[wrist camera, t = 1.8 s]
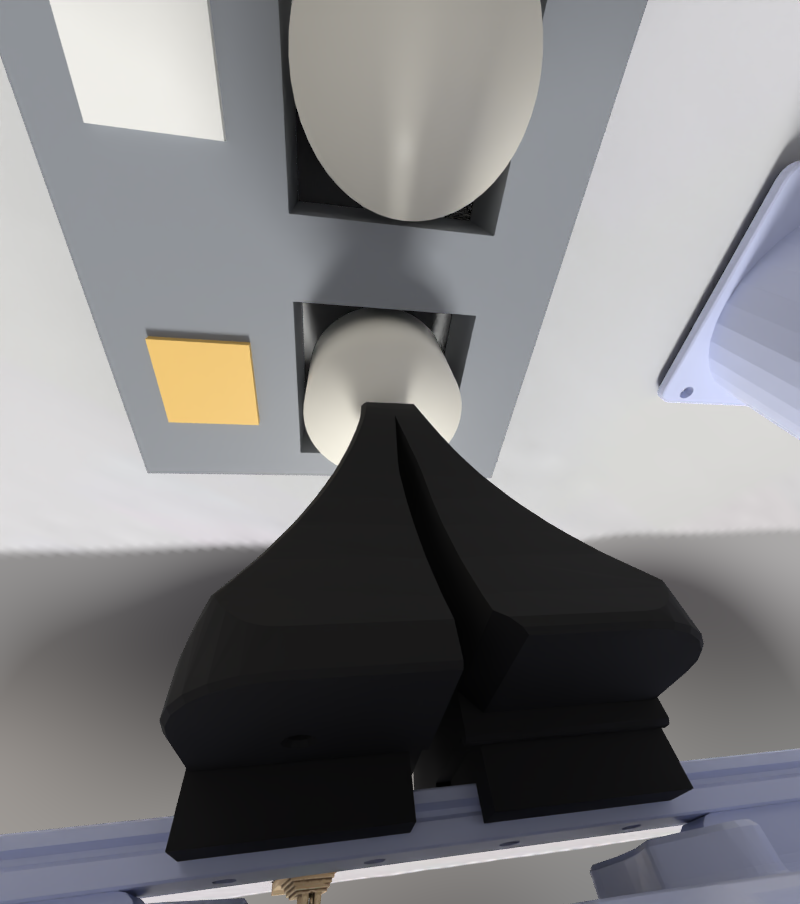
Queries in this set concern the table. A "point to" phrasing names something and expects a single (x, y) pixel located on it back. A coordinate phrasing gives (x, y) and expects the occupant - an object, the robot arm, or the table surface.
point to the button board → (280, 219)
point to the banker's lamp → (303, 887)
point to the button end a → (376, 376)
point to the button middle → (415, 96)
